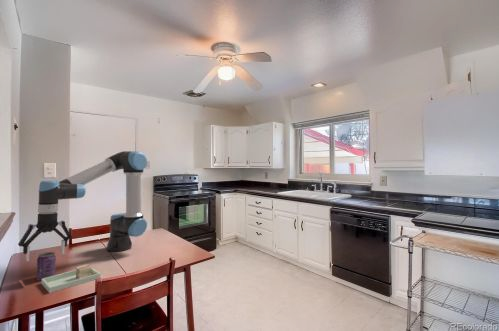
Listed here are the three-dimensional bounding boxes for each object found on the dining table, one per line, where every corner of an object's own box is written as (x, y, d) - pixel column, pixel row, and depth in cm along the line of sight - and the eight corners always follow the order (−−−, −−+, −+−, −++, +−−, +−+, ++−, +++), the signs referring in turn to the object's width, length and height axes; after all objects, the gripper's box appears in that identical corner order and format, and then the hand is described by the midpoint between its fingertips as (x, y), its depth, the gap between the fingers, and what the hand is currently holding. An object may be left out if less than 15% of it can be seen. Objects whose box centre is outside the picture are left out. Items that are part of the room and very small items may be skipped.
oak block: (75, 277, 124) (76, 267, 124) (87, 274, 128) (87, 264, 128) (79, 280, 121) (79, 270, 121) (91, 277, 125) (91, 267, 125)
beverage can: (43, 276, 127) (44, 251, 127) (58, 275, 127) (59, 251, 127) (32, 282, 120) (33, 257, 120) (48, 282, 120) (49, 257, 120)
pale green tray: (41, 285, 117) (41, 278, 117) (89, 272, 133) (90, 266, 133) (49, 295, 109) (49, 287, 109) (100, 279, 125) (100, 273, 125)
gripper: (14, 216, 111) (12, 265, 111) (80, 211, 131) (78, 252, 130) (11, 214, 116) (9, 261, 116) (75, 209, 135) (73, 249, 135)
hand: (45, 256), depth 123 cm, fingers open, 13 cm apart
